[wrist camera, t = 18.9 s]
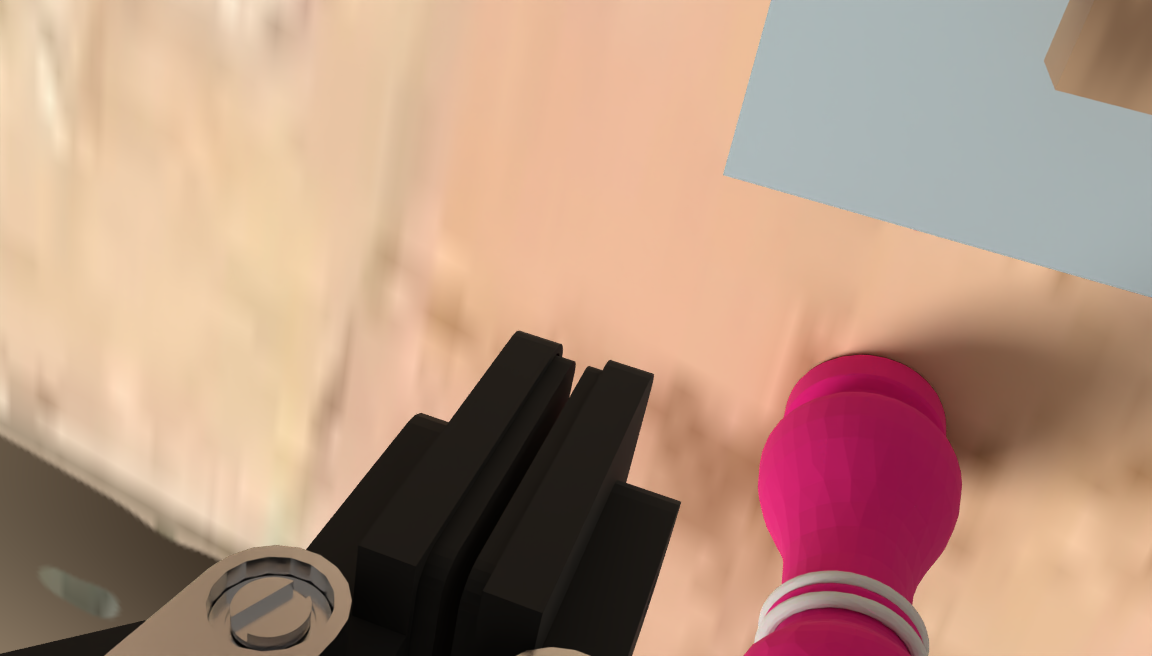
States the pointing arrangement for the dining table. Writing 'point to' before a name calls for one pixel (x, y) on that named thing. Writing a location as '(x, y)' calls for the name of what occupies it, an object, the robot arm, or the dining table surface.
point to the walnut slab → (1104, 52)
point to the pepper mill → (855, 510)
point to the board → (949, 131)
